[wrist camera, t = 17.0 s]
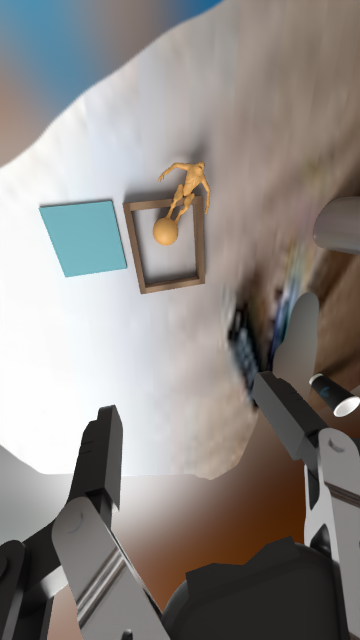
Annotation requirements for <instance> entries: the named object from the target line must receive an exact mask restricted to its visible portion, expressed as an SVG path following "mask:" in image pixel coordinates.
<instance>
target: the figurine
mask: <svg viewBox="0 0 360 640" xmlns="http://www.w3.org/2000/svg"><path fill="white" fill-rule="evenodd" d="M175 167H177V168H180V169H185V170H187V175H186V180H185V184H184V187H183V185H182V184H179V186H178V188H177V191H176V193H175V195H174V202H172V203H171V208H170V210H169V212H168V214H167V216H166V217H165V218H161V219H159V220H158V221H156V223H155V224H154V227H153V236H154V238H155V240H156V241H157V242H158V243H159V244H161V245H171V244H172V243H174V242H175V240H176V239H177V237H178V227H177V225H178V220H179V218H180V216H181V214H184V213H185V211H186V210H188V208H189V206H190V204H191V201H192V199H193V198H194V196H195V194H194V193H192V194H191V192H192V190H193V189H194V188H195V187H196V186H197V185H198V184H199V183H200V182H202V184H203V186H204V187H205V189H206V191H207V199H206V206H207V208H206V209H205V210H206V211H205V215H206V213H207V211H208V208H209V197H210V188H209V185H208V183H207V181H206V178H205V176H204V173H203V170H204V162H203V161H201V162H199V163H197V164H188V163H187V164H184V163H174V164H173V165H172V166H171V167H170V168H168V169H167V170H165V172H163V173H162V174H161V176H160V177H159V179H158V180H160V181H161V179H162V178H163V179H164V175H166V174H168V173H169V172H170V171H171V170H173V169H174V168H175ZM183 195H184V196H186V198H185V200H184V209H181V210H180V212H179V213H178V215H177V217H176V219H175V221H173V220H171V219H170V216H171V213H172V211H173V208H174V207H175V206H176V202H177V201H178V200H180V199H181V198H182V197H183Z"/></svg>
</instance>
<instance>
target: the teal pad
mask: <svg viewBox="0 0 360 640" xmlns="http://www.w3.org/2000/svg"><path fill="white" fill-rule="evenodd" d="M39 211H40V213H41V216H42V218H43V221H44V224H45V226H46V229H47V231H48V234H49V236H50V239H51V242H52V244H53V247H54V249H55V252H56V254H57V257H58V259H59V262H60V265H61V267H62V270H63V272H64V275H65V277H72V276H78V275H85V274H92V273H99V272H105V271H112V270H119V269H126V268H127V267H126V262H125V258H124V253H123V249H122V244H121V240H120V236H119V231H118V227H117V222H116V218H115V213H114V209H113V205H112V201H107V202H97V203H86V204H76V205H66V206H55V207H45V208H39Z"/></svg>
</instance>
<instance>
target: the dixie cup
mask: <svg viewBox="0 0 360 640" xmlns="http://www.w3.org/2000/svg"><path fill="white" fill-rule="evenodd" d="M310 384H311V386H312V387H313V389H314V390H315V391H316V392H317V393H318V394H319V396H320V397H321V398H322V399H323V400H324V401H325V403H326V404H327V405H328V406H329V407H330V408H331V409H332V411H333V412H334V414H335V415H336V416H344V415H347V414H348V413H350V412H352V411H353V410H354V409H355V408H356V407H357V406H358V405H359V403H360V399H359V397H356V396H354V395H353V394H351V393H350V392H348V391H347V390H345V389H344V388H342V387H341V386H340V385H338V384H337V383H335V382H334V381H332V380H331V379H329V378H328V377H326V376H325V375H322V374H316V375H314V376H313V377H312V378H311V379H310Z"/></svg>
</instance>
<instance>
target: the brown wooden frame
mask: <svg viewBox="0 0 360 640" xmlns="http://www.w3.org/2000/svg"><path fill="white" fill-rule="evenodd" d="M185 198H186V197H184V198H181V199H180V200H178V201H177V202H176V206H182V205H184V200H185ZM172 202H174V199H164V200H154V201H144V202H134V203H124V204H123V209H124V214H125V219H126V224H127V229H128V234H129V239H130V243H131V248H132V253H133V258H134V263H135V268H136V273H137V278H138V283H139V288H140V293H141V294H146V293H152V292H158V291H164V290H170V289H175V288H181V287H187V286H193V285H199V284H205V267H204V233H203V198H202V196H194V198H193V199H192V201H191V204H193V218H194V237H195V257H196V276H194V277H188V278H182V279H176V280H170V281H163V282H157V283H151V284H145V283H144V278H143V272H142V267H141V262H140V256H139V251H138V246H137V240H136V235H135V230H134V224H133V219H132V214H131V211H134V210H144V209H153V208H163V207H171V203H172ZM191 204H190V205H191Z"/></svg>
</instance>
